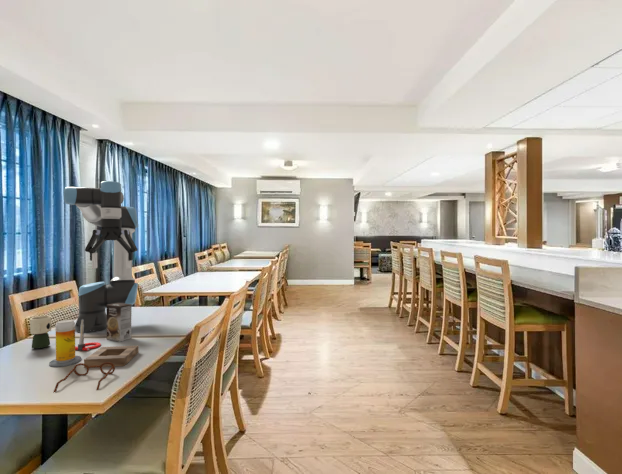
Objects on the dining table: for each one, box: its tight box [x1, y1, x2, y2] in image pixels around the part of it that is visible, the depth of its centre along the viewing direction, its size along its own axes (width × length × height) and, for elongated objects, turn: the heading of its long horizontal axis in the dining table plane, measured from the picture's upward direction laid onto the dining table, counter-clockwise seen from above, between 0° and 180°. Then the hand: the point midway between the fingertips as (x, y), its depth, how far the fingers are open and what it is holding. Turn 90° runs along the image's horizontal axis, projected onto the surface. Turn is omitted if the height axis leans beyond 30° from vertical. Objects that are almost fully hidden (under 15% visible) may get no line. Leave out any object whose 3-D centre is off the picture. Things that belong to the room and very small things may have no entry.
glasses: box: [53, 362, 116, 394], centre depth 114 cm, size 13×13×5 cm
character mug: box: [29, 315, 52, 349], centre depth 148 cm, size 11×7×13 cm, turn 31°
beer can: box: [55, 319, 76, 363], centre depth 132 cm, size 6×6×15 cm
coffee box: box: [105, 303, 132, 342], centre depth 160 cm, size 9×6×16 cm
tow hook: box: [75, 319, 102, 352], centre depth 149 cm, size 8×13×9 cm
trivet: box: [48, 355, 82, 368], centre depth 132 cm, size 10×10×1 cm
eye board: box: [83, 345, 140, 369], centre depth 134 cm, size 14×14×3 cm
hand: (111, 268), depth 146 cm, fingers open, 13 cm apart
